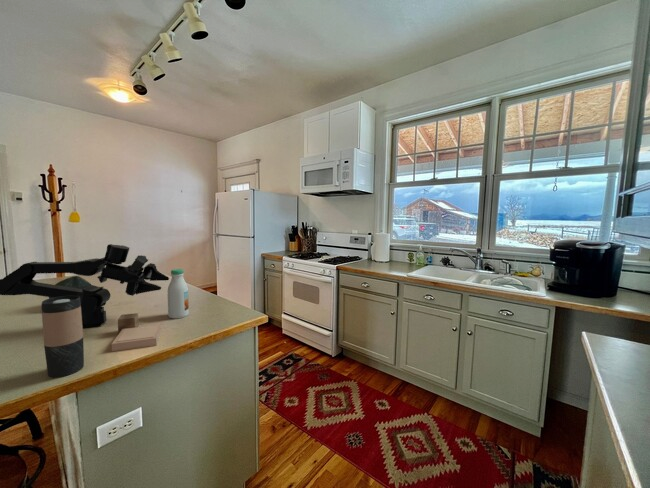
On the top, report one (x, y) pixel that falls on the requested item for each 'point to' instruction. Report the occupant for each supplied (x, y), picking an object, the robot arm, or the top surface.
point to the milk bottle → (177, 295)
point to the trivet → (137, 337)
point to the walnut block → (127, 321)
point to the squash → (74, 283)
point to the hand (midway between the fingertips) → (165, 283)
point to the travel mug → (63, 335)
